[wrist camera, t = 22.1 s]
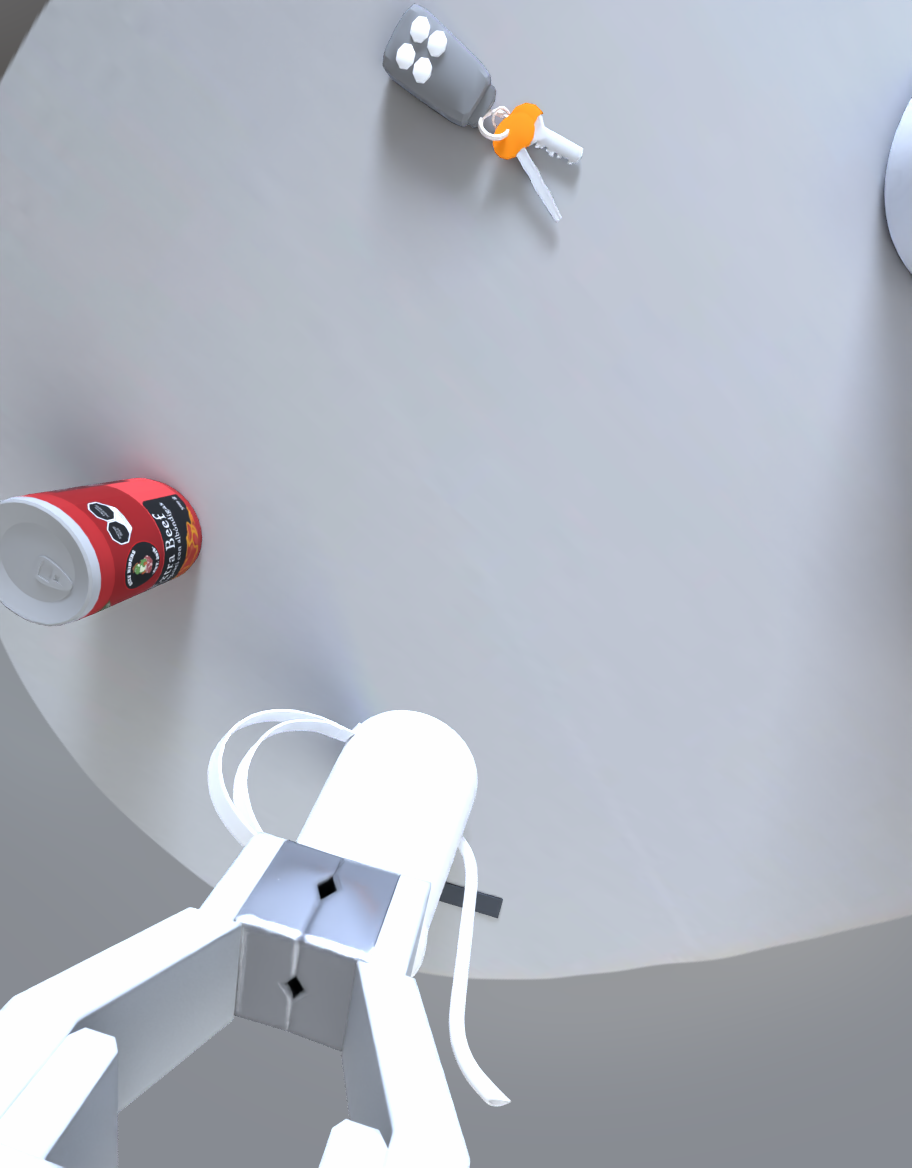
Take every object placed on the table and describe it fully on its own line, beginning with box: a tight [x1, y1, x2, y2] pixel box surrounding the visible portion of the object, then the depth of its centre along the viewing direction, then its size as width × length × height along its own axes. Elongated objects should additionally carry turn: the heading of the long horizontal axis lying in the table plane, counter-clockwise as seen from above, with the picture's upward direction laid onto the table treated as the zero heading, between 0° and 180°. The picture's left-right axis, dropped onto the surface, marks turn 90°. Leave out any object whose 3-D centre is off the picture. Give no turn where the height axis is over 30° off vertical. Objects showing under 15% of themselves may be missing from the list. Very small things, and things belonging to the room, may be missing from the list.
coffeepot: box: [208, 709, 511, 1106], centre depth 37 cm, size 11×25×19 cm, turn 46°
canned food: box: [0, 478, 202, 626], centre depth 38 cm, size 8×8×11 cm
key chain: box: [383, 4, 583, 223], centre depth 32 cm, size 13×4×2 cm, turn 53°
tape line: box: [439, 882, 503, 918], centre depth 49 cm, size 18×2×1 cm, turn 79°
